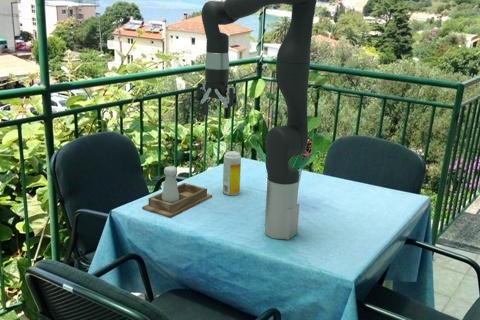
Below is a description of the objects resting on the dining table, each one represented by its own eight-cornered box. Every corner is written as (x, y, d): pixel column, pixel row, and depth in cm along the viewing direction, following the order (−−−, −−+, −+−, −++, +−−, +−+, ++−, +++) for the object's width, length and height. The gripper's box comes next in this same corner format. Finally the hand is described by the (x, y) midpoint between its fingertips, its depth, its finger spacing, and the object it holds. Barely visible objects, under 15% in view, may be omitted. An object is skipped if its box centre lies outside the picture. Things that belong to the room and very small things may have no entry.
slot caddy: (212, 197, 182) (212, 187, 181) (170, 218, 163) (170, 208, 162) (185, 189, 188) (185, 180, 187) (142, 209, 169) (141, 199, 168)
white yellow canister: (242, 192, 187) (244, 153, 183) (233, 197, 182) (235, 156, 178) (228, 188, 190) (230, 150, 186) (219, 193, 185) (220, 153, 181)
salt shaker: (170, 209, 167) (170, 171, 164) (158, 204, 171) (157, 167, 167) (182, 204, 172) (183, 167, 168) (170, 199, 175) (170, 163, 171)
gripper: (242, 68, 163) (240, 118, 168) (205, 63, 170) (204, 111, 175) (229, 70, 157) (227, 122, 162) (191, 65, 164) (191, 115, 169)
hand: (215, 116), depth 168 cm, fingers open, 8 cm apart
